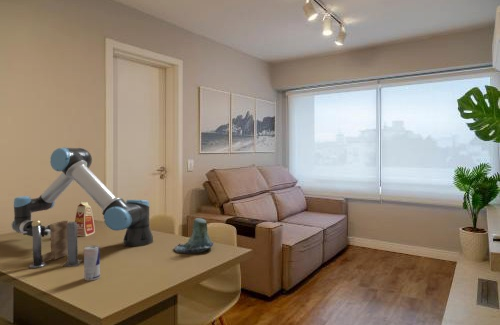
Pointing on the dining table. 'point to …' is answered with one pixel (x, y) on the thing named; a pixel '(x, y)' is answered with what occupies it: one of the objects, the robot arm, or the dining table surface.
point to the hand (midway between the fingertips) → (52, 233)
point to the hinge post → (37, 245)
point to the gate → (57, 241)
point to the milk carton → (84, 220)
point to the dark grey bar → (72, 245)
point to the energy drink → (91, 263)
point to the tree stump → (196, 239)
